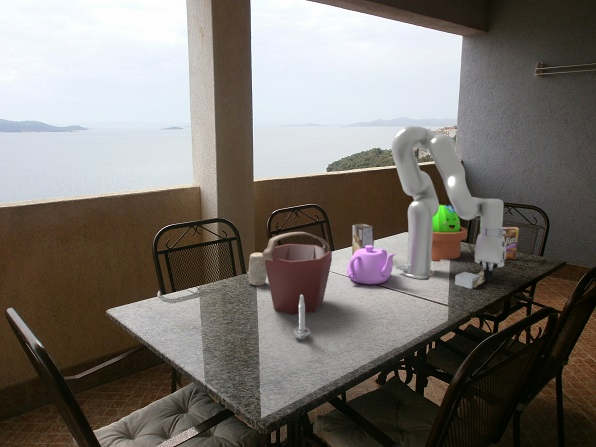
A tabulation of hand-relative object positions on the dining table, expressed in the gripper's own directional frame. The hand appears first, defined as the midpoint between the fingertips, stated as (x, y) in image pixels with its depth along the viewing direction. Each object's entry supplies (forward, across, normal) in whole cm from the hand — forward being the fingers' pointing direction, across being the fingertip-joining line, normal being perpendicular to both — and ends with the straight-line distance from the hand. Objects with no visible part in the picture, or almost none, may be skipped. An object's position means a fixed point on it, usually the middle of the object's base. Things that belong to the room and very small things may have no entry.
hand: (488, 279), depth 167 cm
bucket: (+1, +38, +65) cm, 75 cm away
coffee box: (+1, +55, +6) cm, 56 cm away
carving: (0, +63, +61) cm, 88 cm away
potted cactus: (+2, +33, -24) cm, 41 cm away
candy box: (+3, +9, -38) cm, 40 cm away
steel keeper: (+2, +4, +8) cm, 9 cm away
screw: (+2, +18, +81) cm, 83 cm away
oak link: (+1, +3, 0) cm, 3 cm away
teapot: (+2, +34, +27) cm, 43 cm away
